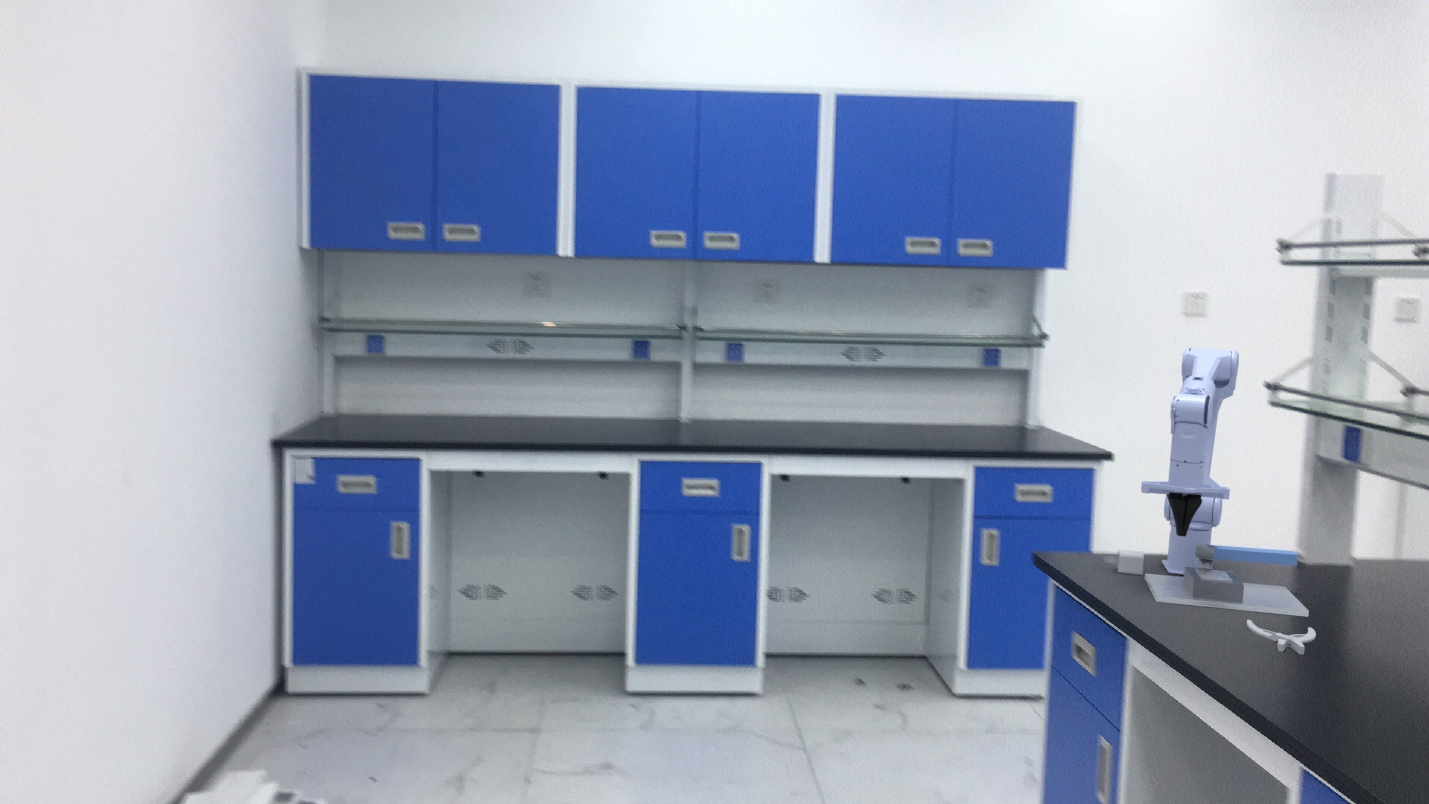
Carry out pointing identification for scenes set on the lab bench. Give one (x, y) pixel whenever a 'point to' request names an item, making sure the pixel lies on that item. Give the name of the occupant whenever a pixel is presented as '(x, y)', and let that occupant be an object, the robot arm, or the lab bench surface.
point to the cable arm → (1246, 554)
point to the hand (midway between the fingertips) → (1181, 535)
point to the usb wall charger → (1128, 562)
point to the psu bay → (1249, 597)
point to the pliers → (1285, 638)
